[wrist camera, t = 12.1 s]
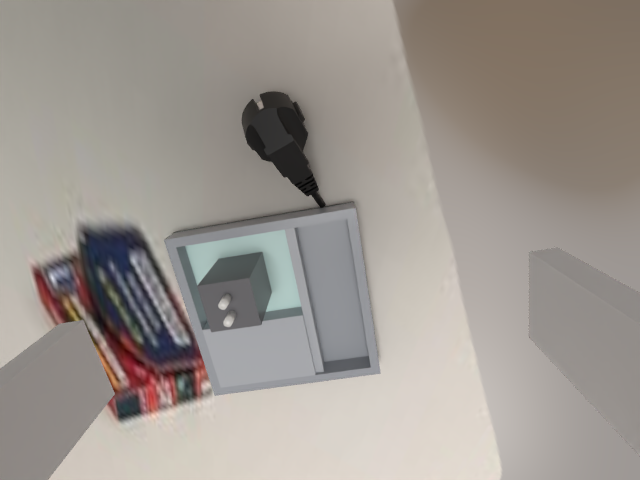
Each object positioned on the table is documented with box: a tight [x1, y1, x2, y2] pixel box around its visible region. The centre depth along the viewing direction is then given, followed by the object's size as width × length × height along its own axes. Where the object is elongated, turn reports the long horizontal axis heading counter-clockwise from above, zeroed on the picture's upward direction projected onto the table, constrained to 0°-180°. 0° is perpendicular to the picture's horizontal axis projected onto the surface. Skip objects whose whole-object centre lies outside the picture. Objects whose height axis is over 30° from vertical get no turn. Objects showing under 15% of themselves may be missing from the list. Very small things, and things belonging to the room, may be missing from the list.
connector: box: [197, 252, 272, 332], centre depth 37 cm, size 5×5×9 cm
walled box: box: [164, 202, 381, 396], centre depth 41 cm, size 20×20×3 cm
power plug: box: [242, 92, 325, 208], centre depth 36 cm, size 6×8×12 cm
